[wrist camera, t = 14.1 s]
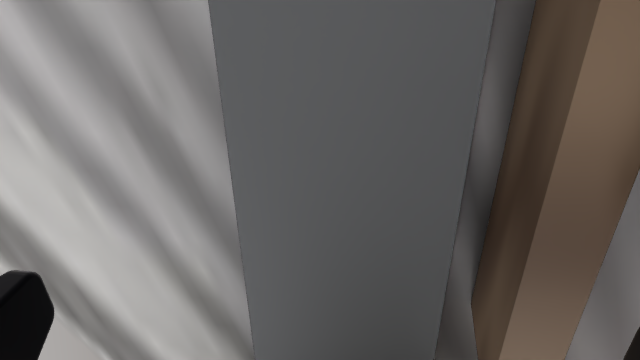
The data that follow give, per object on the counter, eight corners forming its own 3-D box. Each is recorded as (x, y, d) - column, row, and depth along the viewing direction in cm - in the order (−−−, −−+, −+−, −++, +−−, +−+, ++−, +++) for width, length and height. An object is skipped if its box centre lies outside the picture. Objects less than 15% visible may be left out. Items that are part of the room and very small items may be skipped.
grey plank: (426, 381, 16) (426, 399, 16) (262, 364, 17) (257, 382, 16) (549, -363, 7) (560, -373, 7) (177, -345, 8) (161, -356, 7)
